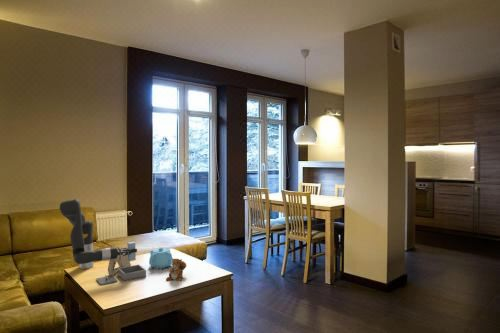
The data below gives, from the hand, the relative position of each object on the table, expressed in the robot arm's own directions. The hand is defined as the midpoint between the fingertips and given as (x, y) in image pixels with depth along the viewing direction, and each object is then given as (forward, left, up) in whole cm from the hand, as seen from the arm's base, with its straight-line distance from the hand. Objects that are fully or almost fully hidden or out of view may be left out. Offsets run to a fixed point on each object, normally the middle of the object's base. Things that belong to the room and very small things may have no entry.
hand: (135, 249), depth 233 cm
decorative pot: (-8, +20, -17) cm, 28 cm away
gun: (-18, -6, -17) cm, 26 cm away
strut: (0, -3, -6) cm, 7 cm away
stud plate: (0, -19, -17) cm, 25 cm away
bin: (0, -3, -17) cm, 17 cm away
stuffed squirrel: (+22, +20, -17) cm, 34 cm away
